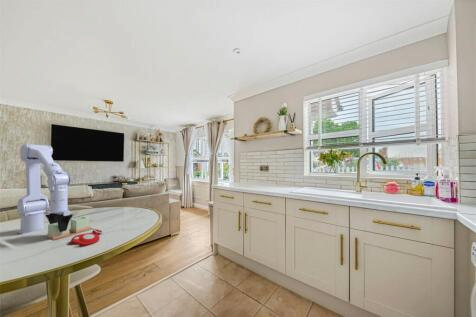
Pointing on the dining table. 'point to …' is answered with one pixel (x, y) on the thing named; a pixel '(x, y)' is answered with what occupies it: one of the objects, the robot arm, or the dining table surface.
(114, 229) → the dining table surface
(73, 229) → the seated sleeve
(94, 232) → the tracker holder
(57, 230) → the sleeve
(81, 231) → the pin board
